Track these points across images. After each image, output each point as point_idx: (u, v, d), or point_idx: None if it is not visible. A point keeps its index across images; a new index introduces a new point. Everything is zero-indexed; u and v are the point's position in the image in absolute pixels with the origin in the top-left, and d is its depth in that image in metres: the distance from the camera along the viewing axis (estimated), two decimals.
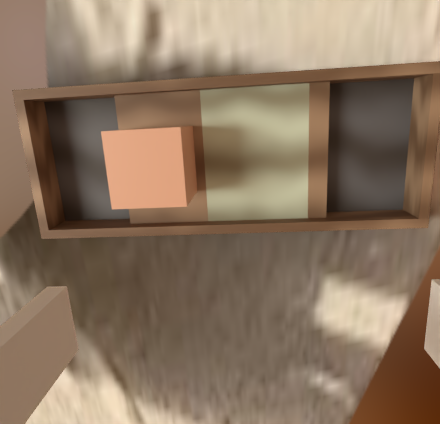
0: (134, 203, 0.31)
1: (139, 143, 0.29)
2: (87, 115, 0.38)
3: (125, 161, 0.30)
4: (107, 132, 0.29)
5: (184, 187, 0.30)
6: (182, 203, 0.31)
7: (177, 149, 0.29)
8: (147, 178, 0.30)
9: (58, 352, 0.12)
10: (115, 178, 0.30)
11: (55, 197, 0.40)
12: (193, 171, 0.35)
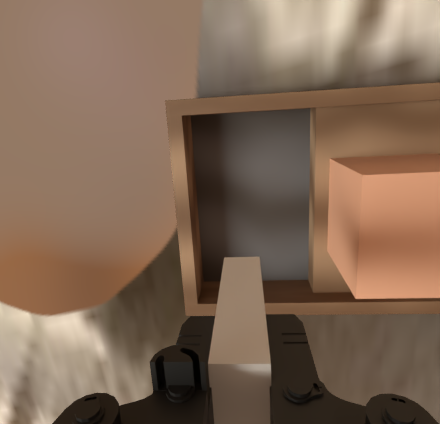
0: (398, 290, 0.19)
1: (428, 195, 0.17)
2: (254, 135, 0.26)
3: (396, 224, 0.18)
4: (374, 177, 0.17)
5: None
6: None
7: None
8: (429, 252, 0.18)
9: None
10: (372, 251, 0.18)
11: (198, 252, 0.28)
12: None
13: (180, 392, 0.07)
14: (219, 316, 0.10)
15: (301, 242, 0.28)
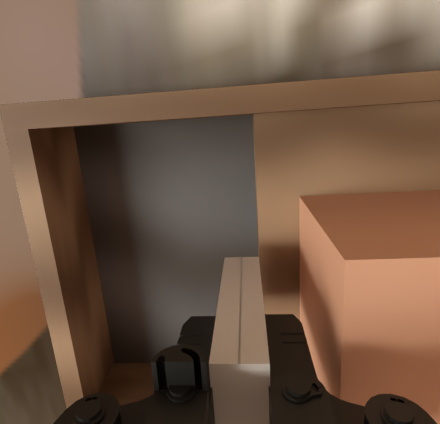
0: None
1: None
2: (170, 156, 0.17)
3: (416, 354, 0.09)
4: (369, 264, 0.08)
5: None
6: None
7: None
8: None
9: None
10: None
11: (97, 328, 0.19)
12: None
13: (181, 392, 0.07)
14: (220, 316, 0.10)
15: None
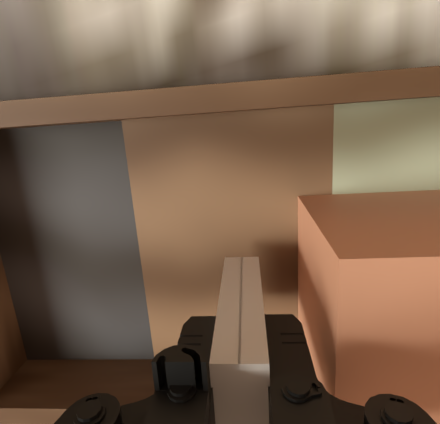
0: None
1: None
2: (63, 159, 0.18)
3: (410, 352, 0.09)
4: (363, 263, 0.08)
5: None
6: None
7: None
8: None
9: None
10: (362, 399, 0.09)
11: (2, 326, 0.19)
12: None
13: (181, 392, 0.07)
14: (220, 316, 0.10)
15: None
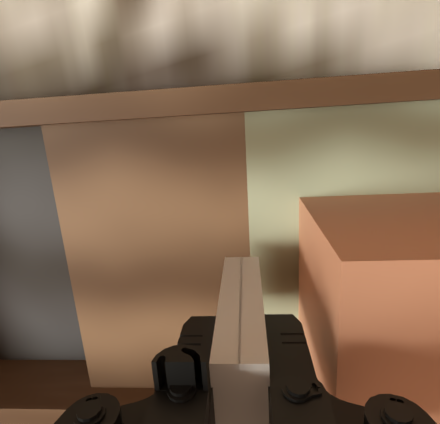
0: None
1: None
2: None
3: (412, 356, 0.09)
4: (366, 265, 0.08)
5: None
6: None
7: None
8: None
9: None
10: (363, 401, 0.09)
11: None
12: None
13: (181, 392, 0.07)
14: (220, 316, 0.10)
15: None
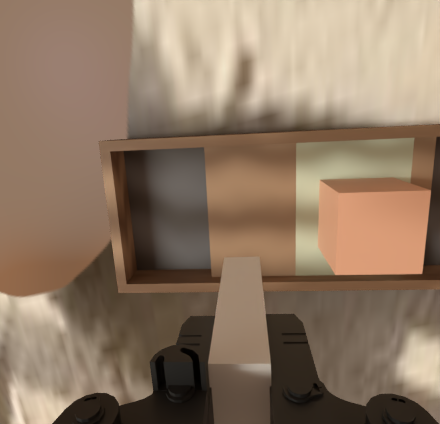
0: (363, 269, 0.28)
1: (380, 206, 0.27)
2: (168, 163, 0.36)
3: (361, 225, 0.27)
4: (346, 194, 0.27)
5: (423, 253, 0.28)
6: (417, 270, 0.28)
7: (423, 213, 0.27)
8: (382, 243, 0.28)
9: None
10: (345, 242, 0.28)
11: (130, 247, 0.38)
12: None
13: (180, 392, 0.07)
14: (219, 316, 0.10)
15: (206, 240, 0.38)
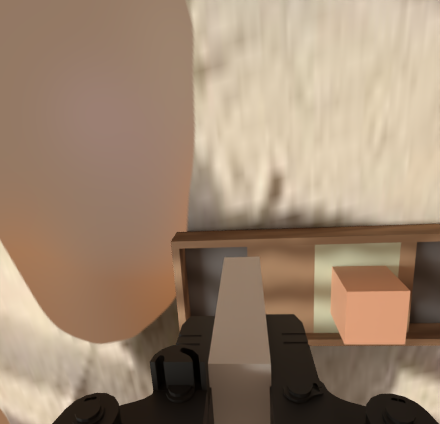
0: (363, 340, 0.40)
1: (375, 300, 0.39)
2: (217, 249, 0.49)
3: (362, 312, 0.39)
4: (352, 292, 0.39)
5: (405, 331, 0.40)
6: (402, 342, 0.40)
7: (405, 305, 0.39)
8: (377, 324, 0.40)
9: None
10: (351, 323, 0.40)
11: (188, 310, 0.50)
12: None
13: (180, 392, 0.07)
14: (219, 316, 0.10)
15: None
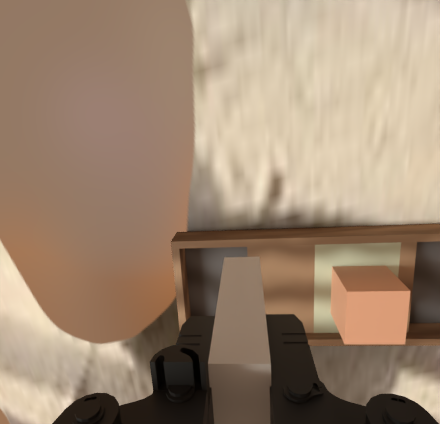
0: (364, 340, 0.40)
1: (375, 300, 0.39)
2: (217, 249, 0.49)
3: (362, 312, 0.39)
4: (352, 292, 0.39)
5: (405, 331, 0.40)
6: (402, 342, 0.40)
7: (405, 305, 0.39)
8: (377, 324, 0.40)
9: None
10: (352, 323, 0.40)
11: (188, 310, 0.50)
12: None
13: (180, 392, 0.07)
14: (219, 316, 0.10)
15: None
